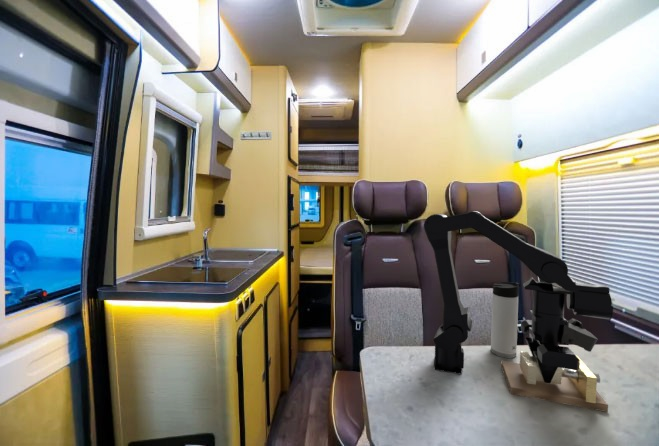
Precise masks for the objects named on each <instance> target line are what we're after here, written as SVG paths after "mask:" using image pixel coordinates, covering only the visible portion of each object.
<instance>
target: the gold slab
mask: <svg viewBox="0 0 659 446" xmlns="http://www.w3.org/2000/svg"><path fill="white" fill-rule="evenodd" d="M575 355H576V356H577V357H578V359H579V360H580V366H579V370H577V371H579V380H578V379H572V378H569V379H570V381H571V382H572V383H573V385H574V386H575V387H576V389H577V390H578V392H579V393H580V394H581V396H582V397H583V399H584V400H585V401H586V402H590V403H596V391H597V384H598V383H597V378H596V377H595V375H594V374H593V373H594V372H592V371H591V370H590V369H589V367H587V365H586V364H585V363H584V362H583V361H582V359H580V357H579V356H578V355H577V354H575ZM571 370H573V369H571Z"/></svg>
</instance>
